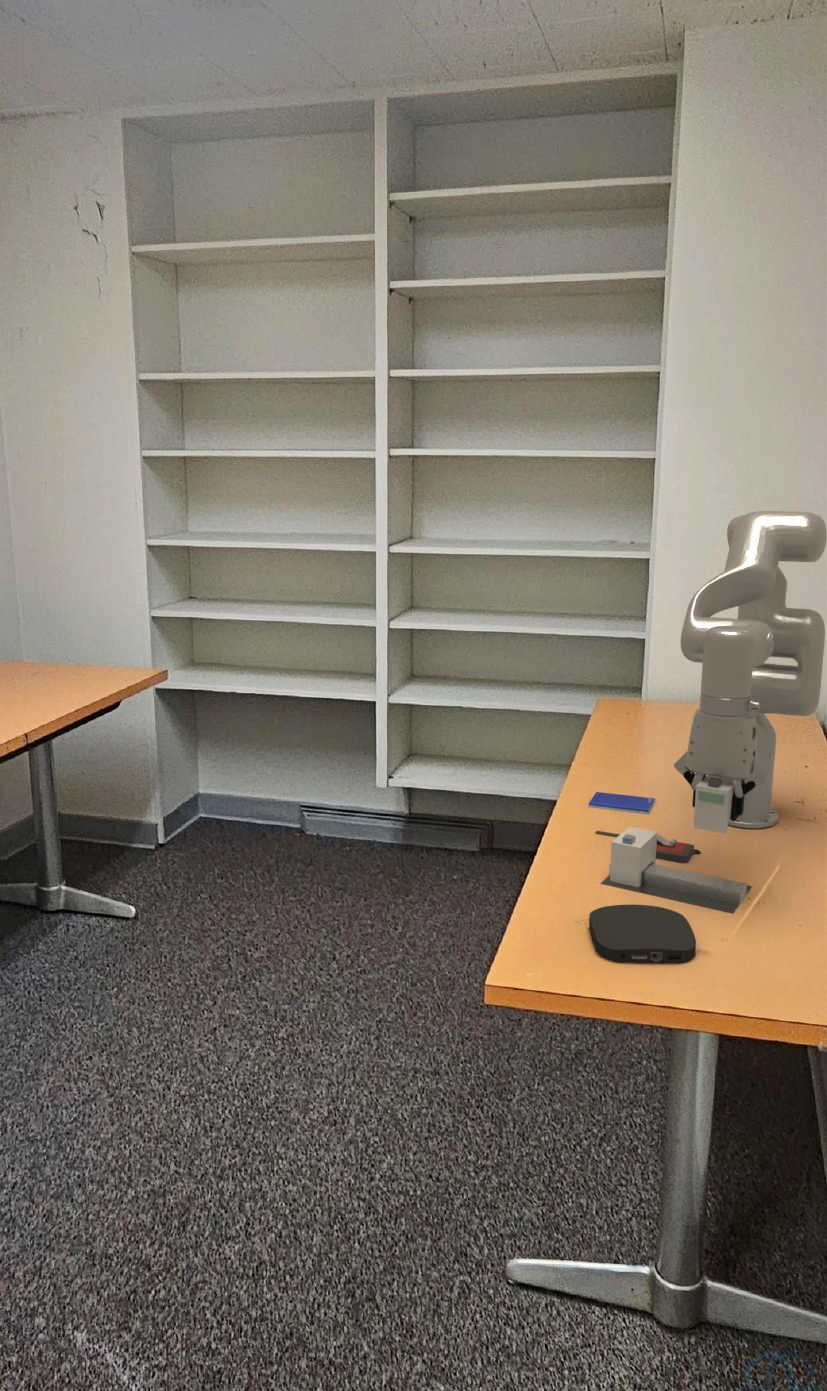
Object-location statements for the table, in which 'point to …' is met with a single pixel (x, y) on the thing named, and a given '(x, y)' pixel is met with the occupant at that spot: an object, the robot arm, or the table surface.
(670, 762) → the table surface
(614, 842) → the mounted module
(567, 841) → the table surface
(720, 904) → the rail plate
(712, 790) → the block
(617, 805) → the hard drive
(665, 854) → the walkie-talkie
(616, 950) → the media streaming box
